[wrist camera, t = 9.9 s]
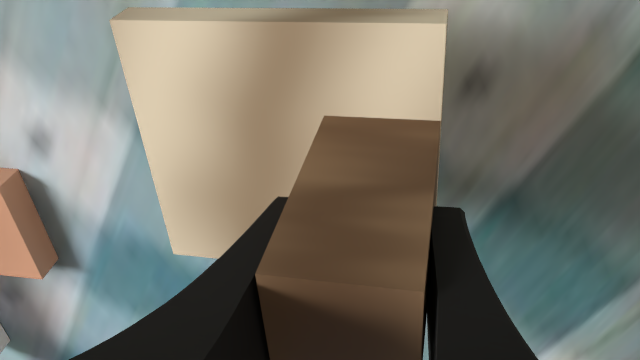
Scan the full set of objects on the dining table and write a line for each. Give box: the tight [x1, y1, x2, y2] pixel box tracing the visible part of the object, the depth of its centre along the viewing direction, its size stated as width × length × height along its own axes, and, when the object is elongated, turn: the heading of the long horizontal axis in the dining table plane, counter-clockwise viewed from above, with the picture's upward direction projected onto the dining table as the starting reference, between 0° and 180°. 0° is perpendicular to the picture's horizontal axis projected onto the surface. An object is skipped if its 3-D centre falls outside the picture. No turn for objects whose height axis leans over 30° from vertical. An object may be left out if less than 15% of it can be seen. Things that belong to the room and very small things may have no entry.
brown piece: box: [110, 7, 448, 360], centre depth 14 cm, size 8×8×7 cm
